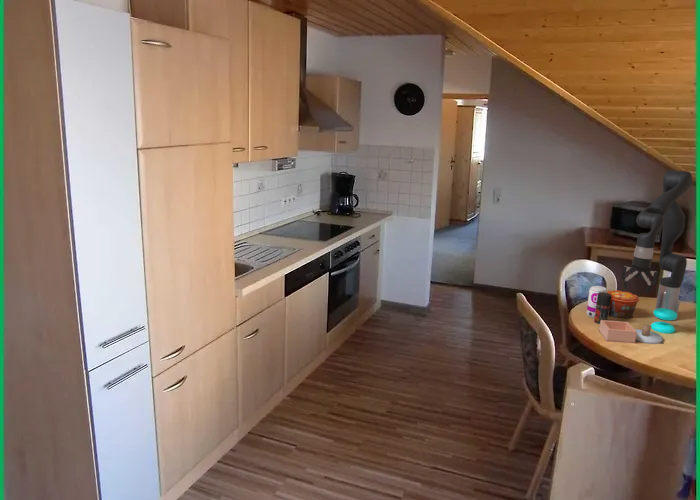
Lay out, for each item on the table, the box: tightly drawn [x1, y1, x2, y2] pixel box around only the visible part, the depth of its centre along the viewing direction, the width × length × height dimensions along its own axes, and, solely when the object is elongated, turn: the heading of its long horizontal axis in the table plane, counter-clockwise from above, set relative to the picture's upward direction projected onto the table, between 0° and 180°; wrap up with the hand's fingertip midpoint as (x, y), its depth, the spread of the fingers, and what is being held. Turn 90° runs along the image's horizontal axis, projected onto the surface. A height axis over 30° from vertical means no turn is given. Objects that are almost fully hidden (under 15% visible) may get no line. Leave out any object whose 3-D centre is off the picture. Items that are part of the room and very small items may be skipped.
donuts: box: [650, 308, 679, 334], centre depth 261 cm, size 10×10×10 cm
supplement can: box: [586, 285, 608, 319], centre depth 278 cm, size 8×8×15 cm
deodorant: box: [593, 292, 611, 325], centre depth 268 cm, size 6×6×15 cm
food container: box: [607, 289, 640, 320], centre depth 281 cm, size 16×16×11 cm
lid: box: [634, 324, 664, 345], centre depth 252 cm, size 14×14×6 cm
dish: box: [598, 319, 637, 344], centre depth 252 cm, size 12×12×6 cm
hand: (636, 290), depth 252 cm, fingers open, 8 cm apart
